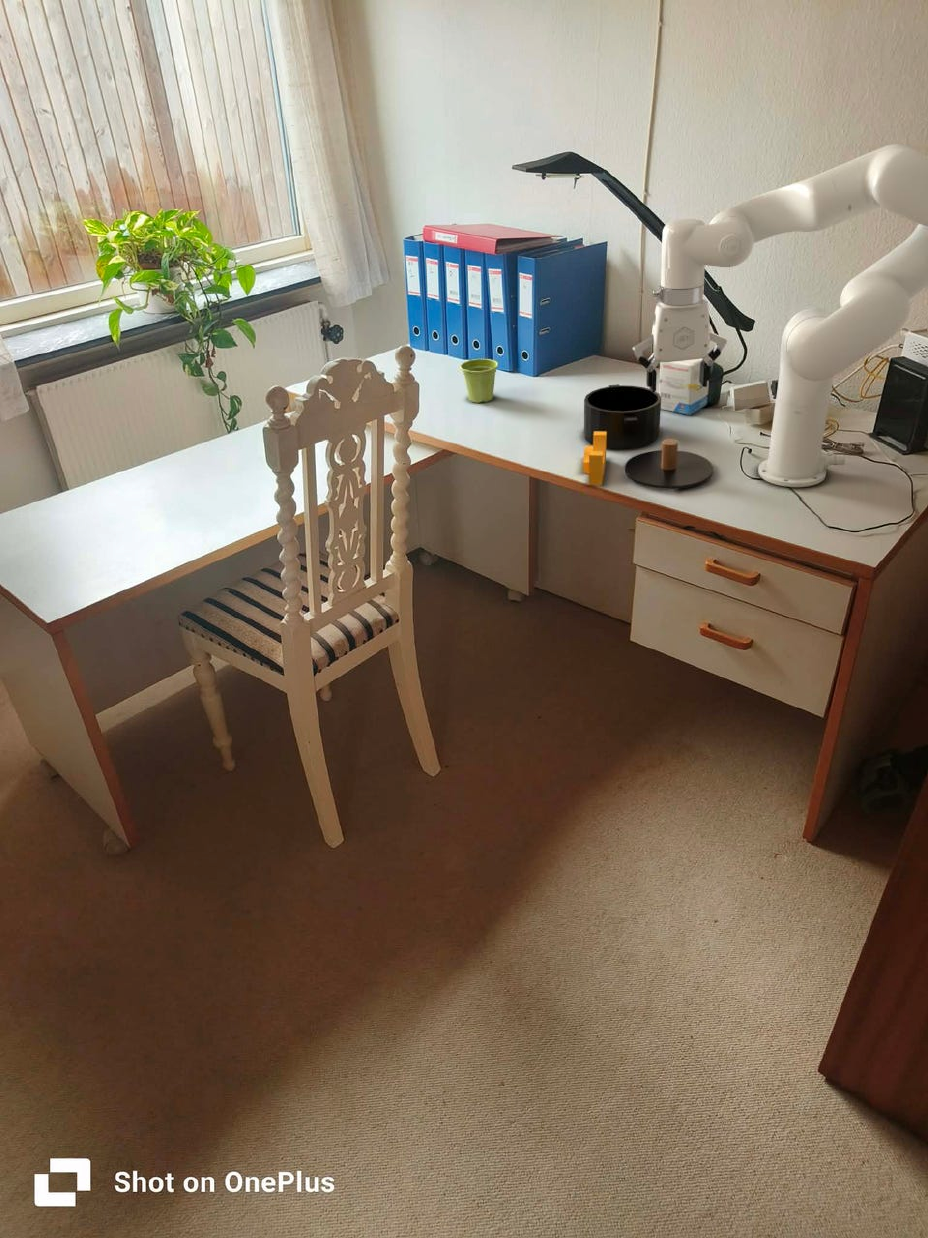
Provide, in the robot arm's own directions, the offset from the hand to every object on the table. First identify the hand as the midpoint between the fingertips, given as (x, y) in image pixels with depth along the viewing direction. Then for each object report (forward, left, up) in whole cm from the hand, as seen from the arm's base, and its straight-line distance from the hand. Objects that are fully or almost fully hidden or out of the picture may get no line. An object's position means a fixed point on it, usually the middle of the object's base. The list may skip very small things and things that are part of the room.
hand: (677, 387), depth 167 cm
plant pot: (+36, -51, -18) cm, 65 cm away
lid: (+1, 0, -17) cm, 17 cm away
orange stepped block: (+15, -3, -18) cm, 24 cm away
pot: (+6, -21, -18) cm, 28 cm away
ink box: (-11, -35, -18) cm, 41 cm away
